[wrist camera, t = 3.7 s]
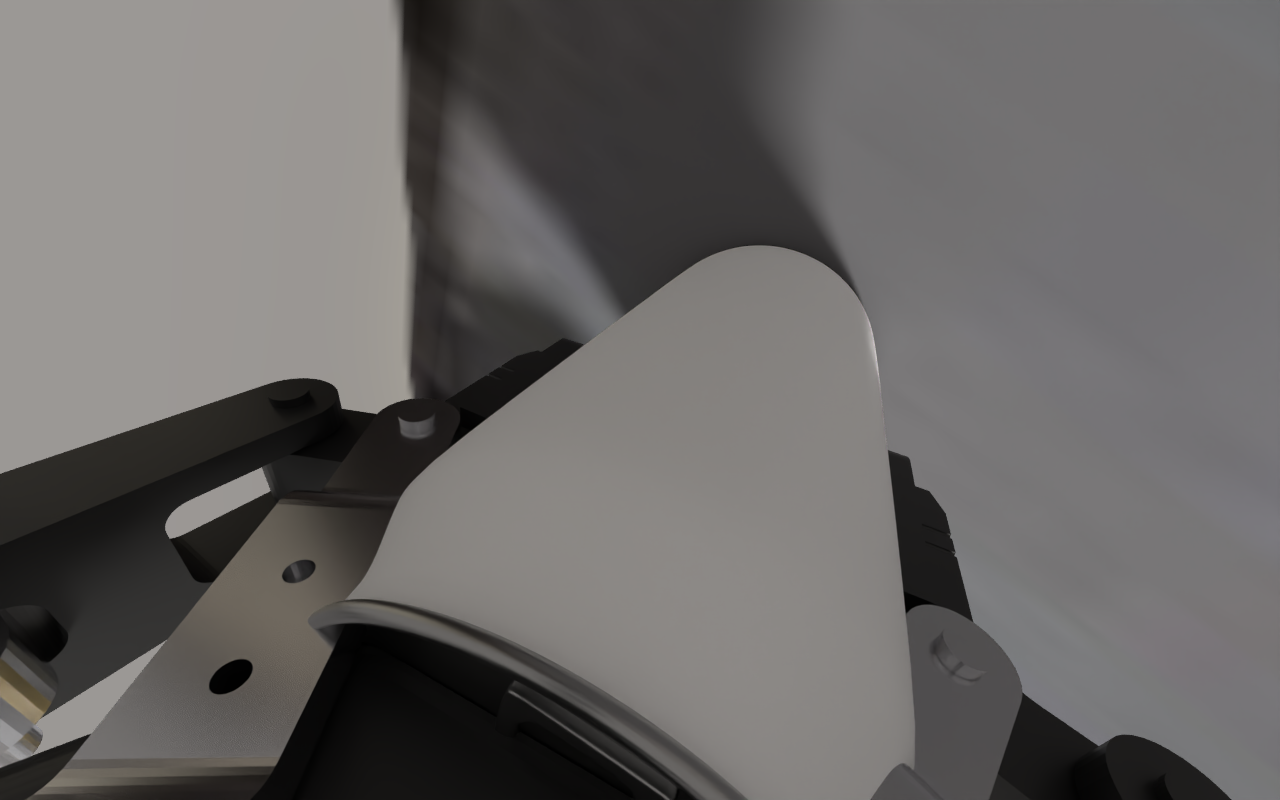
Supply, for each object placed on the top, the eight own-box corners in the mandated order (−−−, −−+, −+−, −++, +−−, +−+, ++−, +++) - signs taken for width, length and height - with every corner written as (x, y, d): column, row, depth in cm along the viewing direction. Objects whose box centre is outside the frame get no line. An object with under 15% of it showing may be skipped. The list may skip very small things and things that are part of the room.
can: (629, 383, 16) (293, 741, 6) (705, 200, 12) (179, 396, 3) (796, 475, 15) (697, 1051, 6) (930, 309, 12) (1338, 1164, 2)
